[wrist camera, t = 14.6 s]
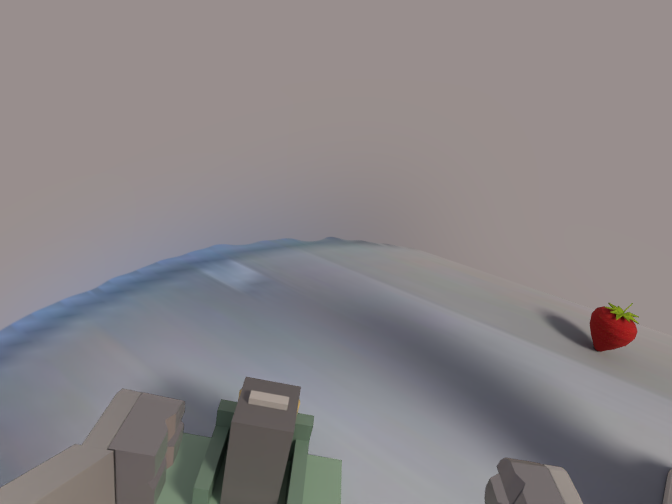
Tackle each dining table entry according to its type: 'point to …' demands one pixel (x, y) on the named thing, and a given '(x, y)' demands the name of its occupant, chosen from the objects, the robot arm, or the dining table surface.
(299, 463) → the header board
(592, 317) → the strawberry
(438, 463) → the dining table surface
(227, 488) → the plug block
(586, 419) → the dining table surface
